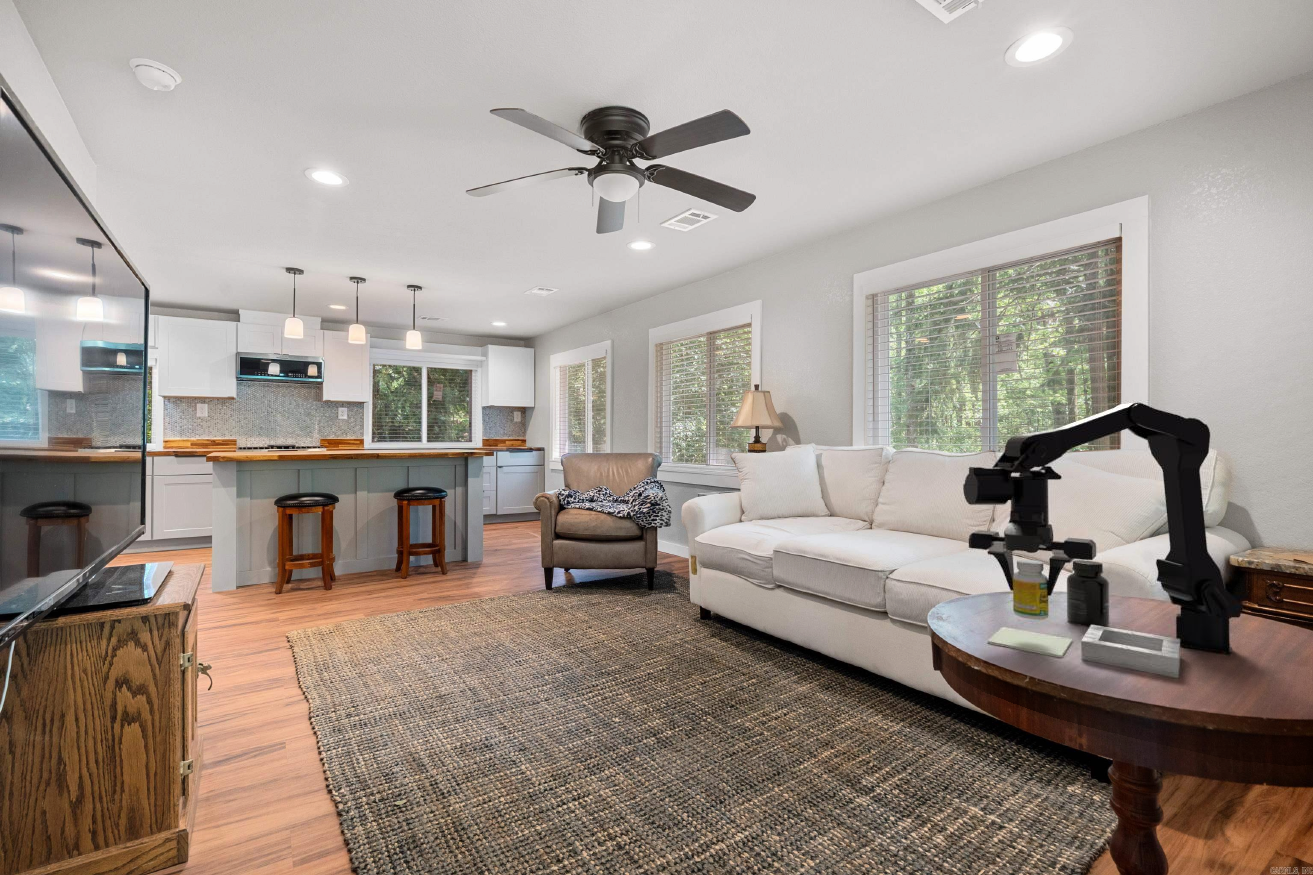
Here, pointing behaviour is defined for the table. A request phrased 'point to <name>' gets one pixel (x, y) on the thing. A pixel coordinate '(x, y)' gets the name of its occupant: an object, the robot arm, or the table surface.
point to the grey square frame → (1132, 650)
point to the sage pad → (1031, 642)
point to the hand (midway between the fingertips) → (1030, 592)
